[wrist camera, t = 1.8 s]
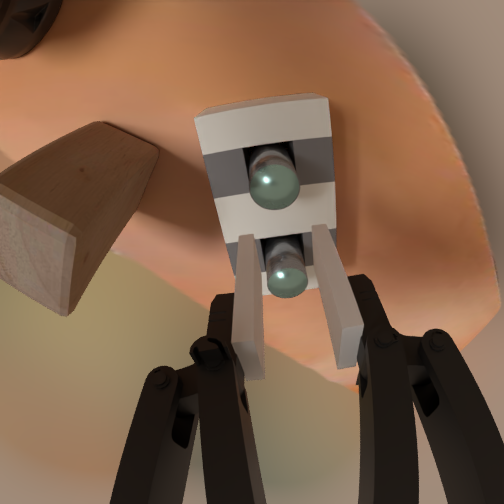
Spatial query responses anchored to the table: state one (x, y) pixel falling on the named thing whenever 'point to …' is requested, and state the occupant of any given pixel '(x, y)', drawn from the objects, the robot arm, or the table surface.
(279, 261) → the peg
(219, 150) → the socket board
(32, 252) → the wooden block
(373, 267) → the table surface
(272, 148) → the peg
